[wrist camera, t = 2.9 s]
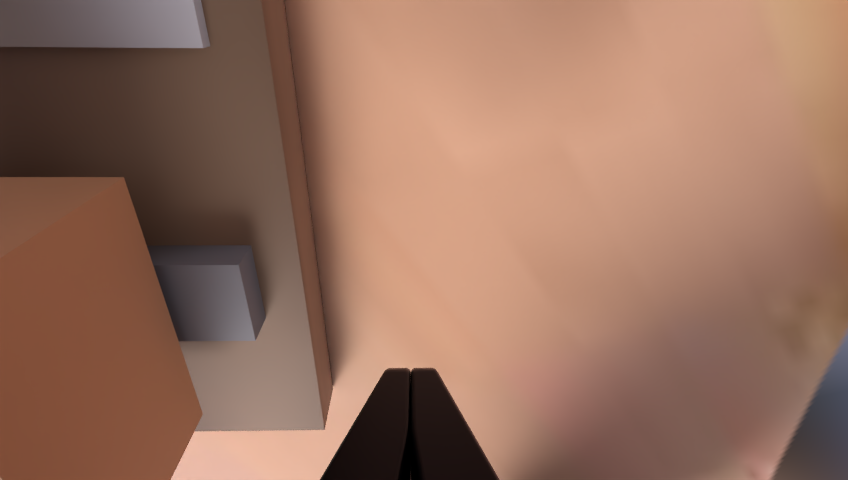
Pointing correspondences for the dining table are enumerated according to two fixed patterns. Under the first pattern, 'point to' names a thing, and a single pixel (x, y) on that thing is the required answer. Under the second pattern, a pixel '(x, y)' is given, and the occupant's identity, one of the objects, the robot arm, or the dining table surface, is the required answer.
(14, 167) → the base
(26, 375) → the sliding jaw
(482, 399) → the dining table surface
